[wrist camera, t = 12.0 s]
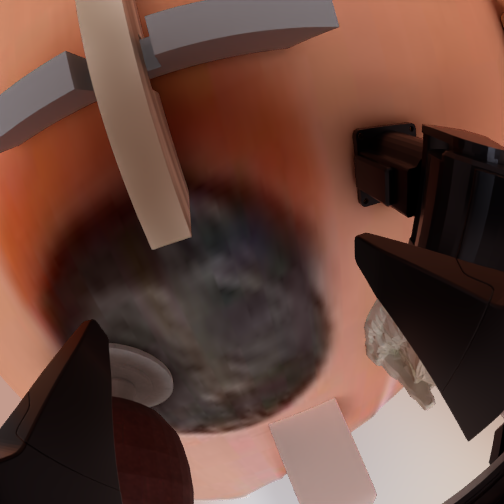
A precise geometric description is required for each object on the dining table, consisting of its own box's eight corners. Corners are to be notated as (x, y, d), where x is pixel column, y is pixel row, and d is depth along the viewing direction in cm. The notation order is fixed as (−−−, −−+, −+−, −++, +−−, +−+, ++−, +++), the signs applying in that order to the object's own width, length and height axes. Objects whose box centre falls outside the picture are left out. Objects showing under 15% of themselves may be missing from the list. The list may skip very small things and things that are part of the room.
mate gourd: (127, 416, 31) (135, 547, 14) (44, 364, 24) (20, 521, 7) (215, 379, 30) (255, 545, 13) (125, 307, 22) (117, 555, 5)
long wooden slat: (128, -32, 9) (108, -80, 3) (188, 191, 19) (191, 236, 13) (100, -22, 9) (70, -64, 3) (161, 200, 19) (152, 249, 13)
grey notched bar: (281, 23, 14) (329, -8, 8) (288, 48, 15) (339, 27, 9) (12, 121, 12) (-48, 139, 7) (19, 145, 14) (-39, 171, 8)
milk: (268, 424, 39) (316, 561, 17) (334, 397, 39) (398, 529, 17) (285, 441, 46) (325, 549, 24) (340, 419, 46) (389, 524, 24)
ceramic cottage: (358, 368, 36) (413, 446, 23) (365, 280, 28) (463, 378, 15) (434, 323, 38) (490, 380, 25) (453, 236, 30) (538, 294, 17)
